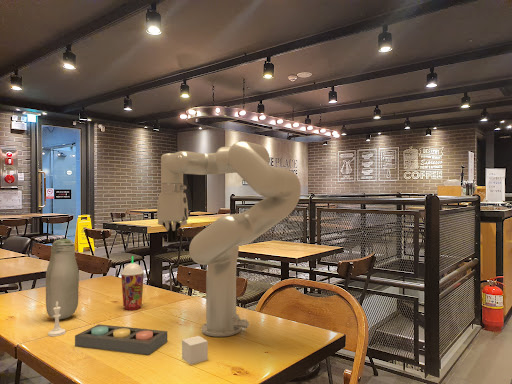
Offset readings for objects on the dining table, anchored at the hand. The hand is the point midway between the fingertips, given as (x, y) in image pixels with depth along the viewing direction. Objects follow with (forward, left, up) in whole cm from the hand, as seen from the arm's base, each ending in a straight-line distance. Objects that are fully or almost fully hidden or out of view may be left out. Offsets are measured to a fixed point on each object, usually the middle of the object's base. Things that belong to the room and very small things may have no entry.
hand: (172, 241), depth 131 cm
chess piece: (+29, +21, -27) cm, 45 cm away
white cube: (-21, +27, -27) cm, 44 cm away
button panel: (+4, +23, -27) cm, 36 cm away
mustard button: (+4, +23, -26) cm, 35 cm away
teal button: (+11, +23, -26) cm, 37 cm away
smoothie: (+22, -9, -27) cm, 36 cm away
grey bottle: (+39, +8, -27) cm, 48 cm away
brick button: (-3, +23, -26) cm, 35 cm away
